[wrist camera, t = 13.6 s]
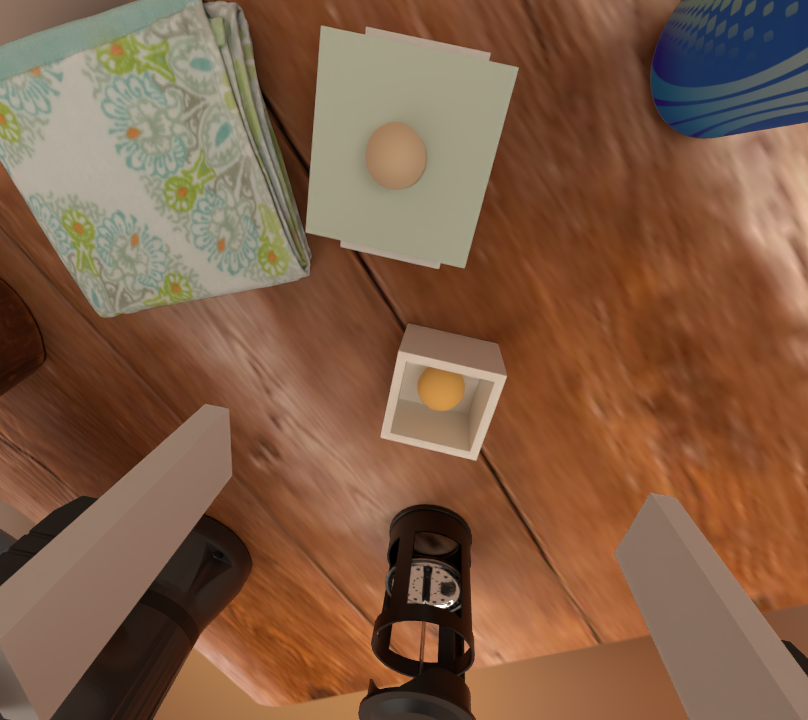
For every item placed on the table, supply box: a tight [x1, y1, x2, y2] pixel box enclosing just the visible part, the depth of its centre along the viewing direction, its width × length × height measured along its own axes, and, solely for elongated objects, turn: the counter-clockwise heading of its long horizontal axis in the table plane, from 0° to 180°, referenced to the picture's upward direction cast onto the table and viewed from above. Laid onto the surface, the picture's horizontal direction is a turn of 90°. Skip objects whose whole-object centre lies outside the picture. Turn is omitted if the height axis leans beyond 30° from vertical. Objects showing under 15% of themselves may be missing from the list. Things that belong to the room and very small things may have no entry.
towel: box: [0, 0, 312, 318], centre depth 28 cm, size 18×21×5 cm
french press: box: [358, 505, 476, 720], centre depth 33 cm, size 12×9×23 cm
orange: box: [418, 367, 465, 411], centre depth 32 cm, size 4×4×4 cm
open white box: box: [380, 323, 507, 461], centre depth 31 cm, size 8×8×6 cm
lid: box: [305, 26, 519, 268], centre depth 21 cm, size 10×10×5 cm
